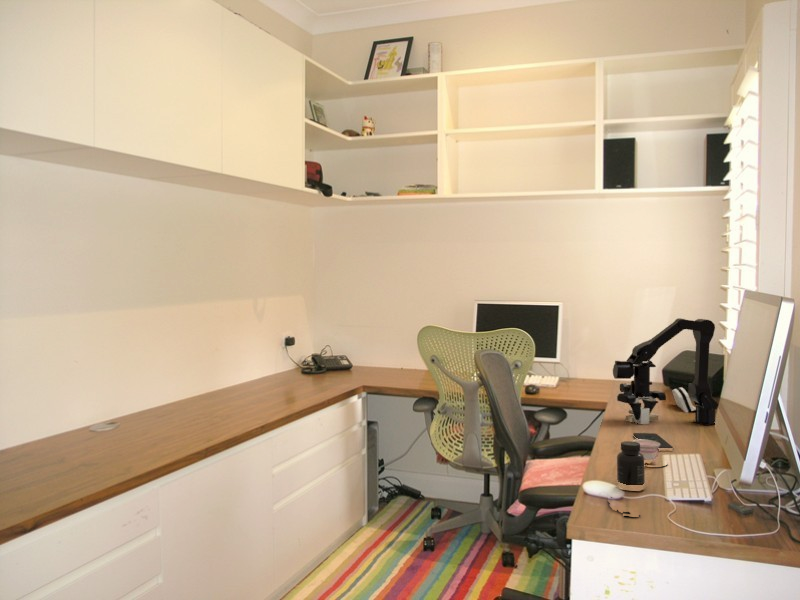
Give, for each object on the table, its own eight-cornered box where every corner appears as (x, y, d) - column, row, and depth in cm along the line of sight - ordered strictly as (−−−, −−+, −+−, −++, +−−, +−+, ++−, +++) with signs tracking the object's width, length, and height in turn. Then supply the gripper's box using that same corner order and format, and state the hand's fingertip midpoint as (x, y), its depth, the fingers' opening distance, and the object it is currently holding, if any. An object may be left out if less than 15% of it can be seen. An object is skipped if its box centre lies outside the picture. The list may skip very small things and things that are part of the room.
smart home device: (656, 432, 224) (674, 447, 204) (656, 437, 224) (674, 453, 204) (632, 432, 225) (647, 446, 205) (632, 437, 225) (647, 452, 205)
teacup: (616, 460, 195) (616, 440, 195) (646, 455, 200) (646, 436, 200) (646, 470, 184) (646, 449, 184) (677, 465, 189) (677, 445, 189)
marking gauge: (649, 423, 243) (649, 408, 243) (640, 424, 242) (641, 408, 241) (633, 419, 251) (634, 404, 251) (625, 420, 250) (625, 404, 249)
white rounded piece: (698, 413, 263) (689, 390, 263) (686, 416, 264) (678, 393, 264) (689, 405, 279) (680, 383, 279) (678, 408, 280) (670, 386, 280)
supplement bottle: (638, 484, 172) (638, 439, 171) (649, 492, 165) (649, 446, 164) (613, 484, 171) (613, 440, 171) (622, 493, 164) (622, 446, 164)
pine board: (658, 419, 250) (658, 414, 250) (631, 422, 246) (631, 417, 245) (651, 418, 253) (652, 413, 253) (625, 420, 249) (625, 415, 249)
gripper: (646, 374, 254) (645, 413, 255) (607, 377, 248) (607, 417, 248) (667, 378, 244) (666, 419, 244) (627, 381, 237) (627, 422, 238)
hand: (641, 419), depth 244 cm, fingers closed on marking gauge, 4 cm apart
